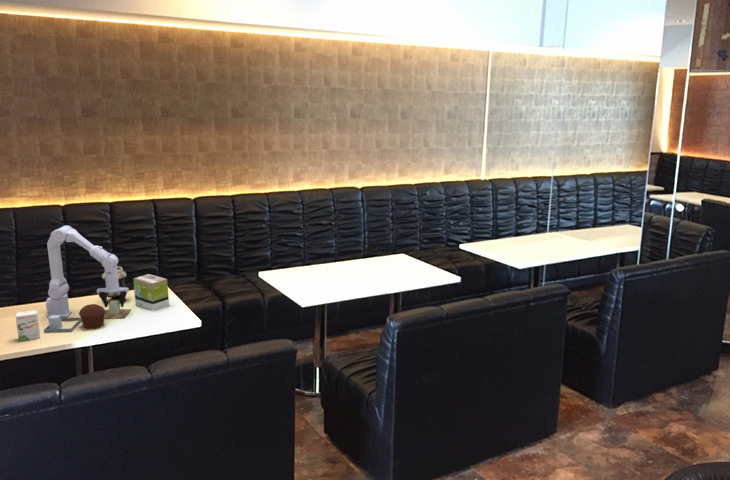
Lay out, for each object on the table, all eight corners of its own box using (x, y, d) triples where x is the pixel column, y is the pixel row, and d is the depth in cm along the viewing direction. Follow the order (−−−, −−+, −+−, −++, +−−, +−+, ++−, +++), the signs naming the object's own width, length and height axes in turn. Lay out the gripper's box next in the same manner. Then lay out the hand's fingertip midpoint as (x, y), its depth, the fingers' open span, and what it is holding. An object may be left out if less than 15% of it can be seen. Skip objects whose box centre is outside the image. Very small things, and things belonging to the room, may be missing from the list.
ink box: (18, 341, 278) (15, 316, 275) (18, 337, 282) (15, 312, 280) (40, 338, 282) (37, 313, 279) (39, 334, 286) (36, 309, 284)
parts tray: (44, 332, 288) (43, 329, 288) (56, 321, 303) (56, 318, 303) (71, 331, 289) (71, 328, 289) (82, 320, 304) (82, 317, 304)
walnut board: (98, 319, 306) (98, 318, 305) (106, 310, 317) (106, 309, 317) (124, 318, 307) (124, 317, 307) (131, 310, 318) (130, 308, 318)
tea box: (134, 305, 325) (132, 277, 322) (151, 300, 333) (149, 273, 330) (153, 311, 317) (151, 282, 313) (169, 306, 325) (168, 278, 321)
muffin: (111, 322, 301) (110, 302, 299) (97, 331, 291) (95, 310, 289) (89, 320, 304) (87, 300, 301) (74, 328, 293) (72, 308, 291)
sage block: (109, 314, 310) (108, 302, 308) (112, 312, 314) (110, 300, 312) (118, 314, 310) (116, 302, 309) (120, 311, 314) (119, 300, 312)
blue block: (49, 330, 291) (48, 318, 290) (53, 327, 295) (51, 315, 293) (58, 330, 291) (57, 318, 290) (62, 327, 295) (60, 315, 294)
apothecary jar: (133, 299, 334) (130, 266, 330) (116, 306, 323) (113, 272, 319) (116, 296, 339) (113, 264, 335) (98, 303, 328) (95, 269, 324)
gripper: (93, 282, 303) (96, 309, 307) (125, 282, 305) (127, 309, 308) (98, 278, 310) (100, 305, 313) (129, 277, 312) (131, 304, 315)
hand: (114, 306), depth 311 cm, fingers open, 7 cm apart
